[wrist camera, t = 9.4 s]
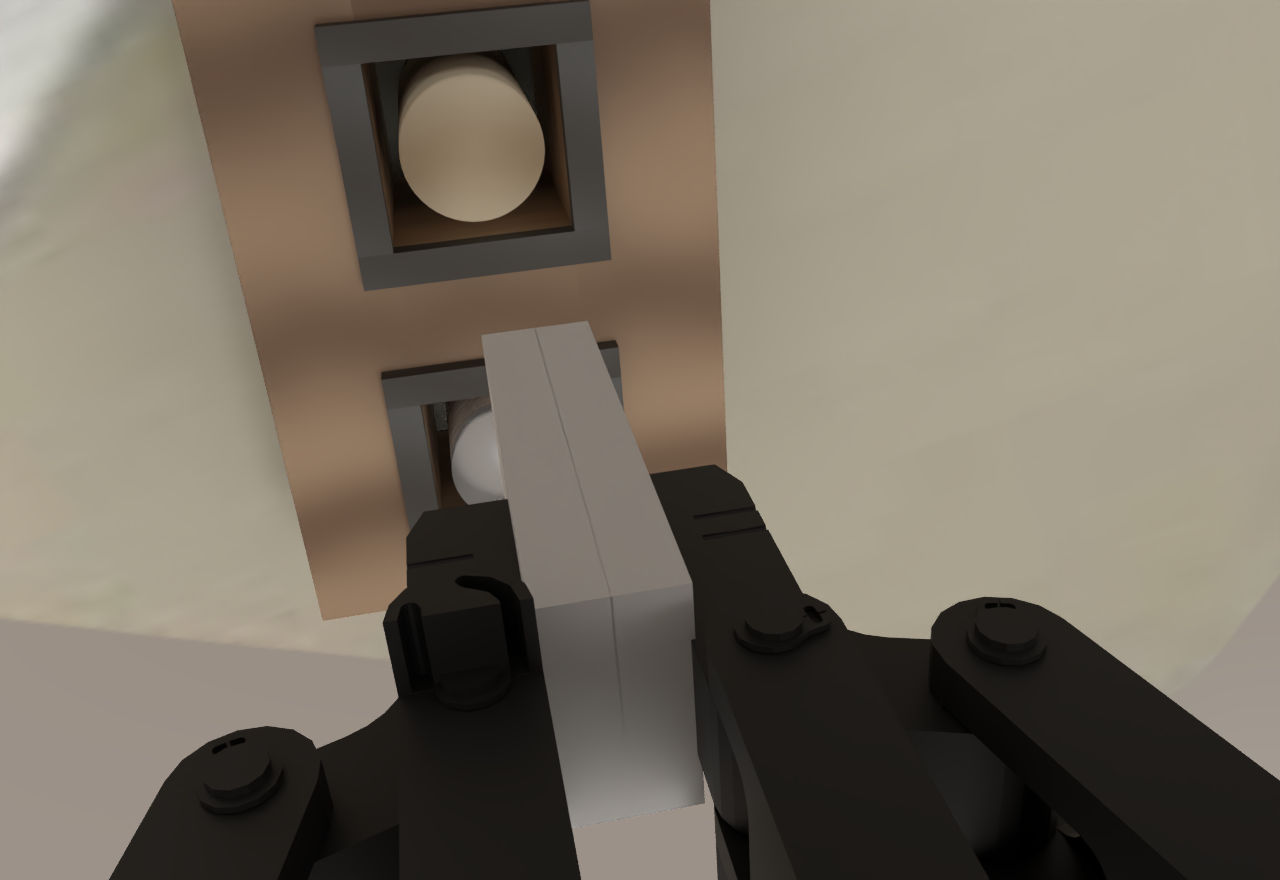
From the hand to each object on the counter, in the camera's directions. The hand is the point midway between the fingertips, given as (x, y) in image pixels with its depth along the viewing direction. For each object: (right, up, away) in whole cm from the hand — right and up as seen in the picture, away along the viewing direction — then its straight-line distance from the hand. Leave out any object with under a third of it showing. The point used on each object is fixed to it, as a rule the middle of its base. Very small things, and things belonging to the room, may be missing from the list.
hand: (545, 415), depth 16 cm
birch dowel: (-5, +11, +22) cm, 25 cm away
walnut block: (-4, +7, +25) cm, 26 cm away
